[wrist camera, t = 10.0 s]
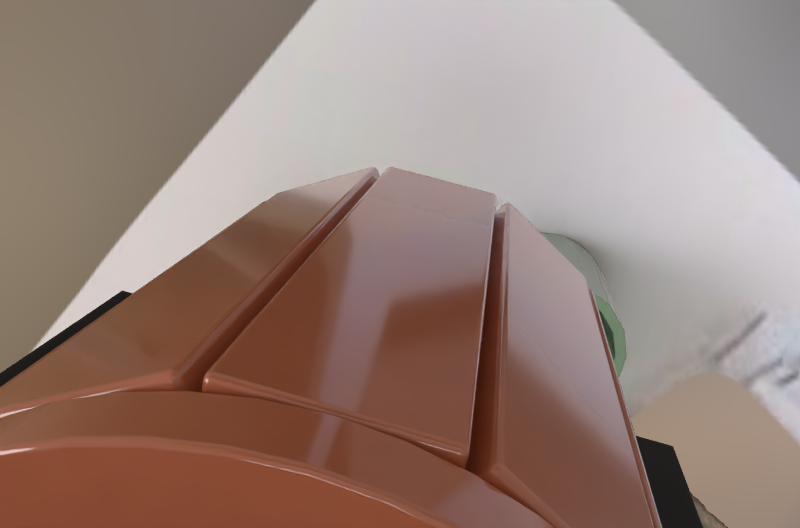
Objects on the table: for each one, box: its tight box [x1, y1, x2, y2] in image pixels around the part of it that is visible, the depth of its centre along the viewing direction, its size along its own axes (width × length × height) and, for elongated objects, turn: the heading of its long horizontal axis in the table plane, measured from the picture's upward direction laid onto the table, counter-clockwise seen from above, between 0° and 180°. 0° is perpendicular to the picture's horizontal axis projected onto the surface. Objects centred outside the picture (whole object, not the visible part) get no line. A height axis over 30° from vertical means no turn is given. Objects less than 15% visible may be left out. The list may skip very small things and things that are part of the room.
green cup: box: [541, 233, 626, 378], centre depth 45 cm, size 8×8×10 cm
